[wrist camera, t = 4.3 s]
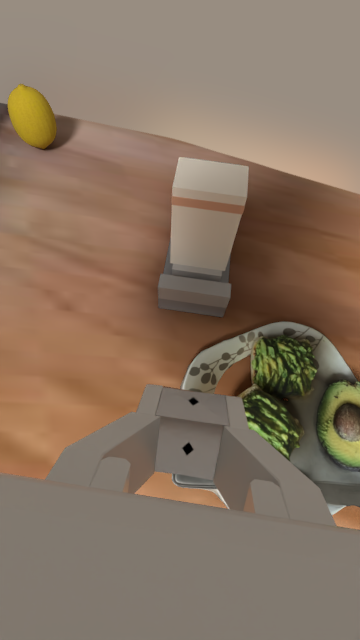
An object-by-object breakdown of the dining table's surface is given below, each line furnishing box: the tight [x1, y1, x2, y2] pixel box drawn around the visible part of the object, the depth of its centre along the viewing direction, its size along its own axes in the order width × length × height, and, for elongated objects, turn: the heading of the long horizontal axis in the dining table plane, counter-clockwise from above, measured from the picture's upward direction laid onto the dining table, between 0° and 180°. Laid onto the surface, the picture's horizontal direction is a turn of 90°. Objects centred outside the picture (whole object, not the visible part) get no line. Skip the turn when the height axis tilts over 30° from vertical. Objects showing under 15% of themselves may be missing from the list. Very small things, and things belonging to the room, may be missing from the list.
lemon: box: [8, 84, 57, 149], centre depth 40 cm, size 6×6×8 cm
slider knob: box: [170, 157, 249, 282], centre depth 28 cm, size 5×6×10 cm
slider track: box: [158, 157, 238, 317], centre depth 35 cm, size 20×7×4 cm, turn 172°
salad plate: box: [172, 321, 360, 515], centre depth 25 cm, size 19×18×5 cm
